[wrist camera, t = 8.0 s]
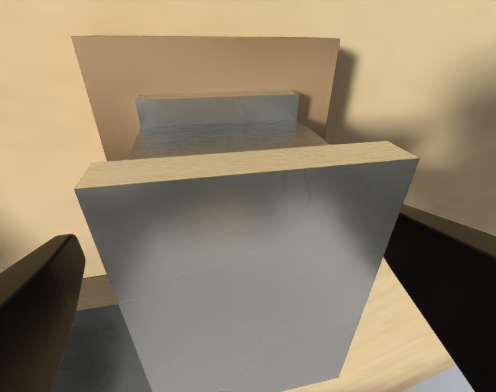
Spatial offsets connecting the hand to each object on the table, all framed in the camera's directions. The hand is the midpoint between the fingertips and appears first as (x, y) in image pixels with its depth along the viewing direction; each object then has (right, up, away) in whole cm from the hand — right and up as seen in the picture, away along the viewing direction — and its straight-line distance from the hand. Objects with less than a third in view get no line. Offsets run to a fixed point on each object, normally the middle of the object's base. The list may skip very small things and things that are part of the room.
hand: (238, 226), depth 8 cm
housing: (-1, +1, +2) cm, 3 cm away
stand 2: (-1, +2, +4) cm, 5 cm away
